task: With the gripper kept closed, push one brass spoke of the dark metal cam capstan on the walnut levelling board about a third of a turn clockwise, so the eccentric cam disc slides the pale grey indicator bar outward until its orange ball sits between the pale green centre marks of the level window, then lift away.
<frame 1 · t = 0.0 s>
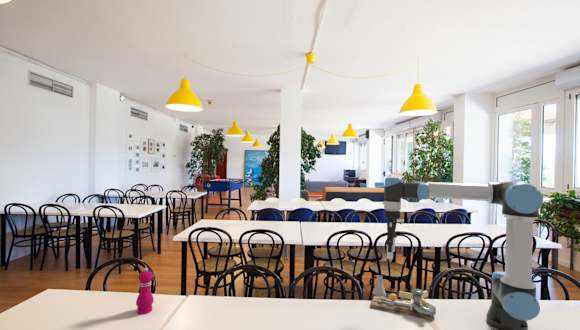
hand: (390, 254, 140), 28 cm above the table, fingers open, 13 cm apart
pepper mill: (144, 311, 137), on the table
flask: (379, 294, 161), on the table
indicator: (400, 299, 146), point 4 cm above the table, slide at 0.0 cm
cam capstan: (420, 298, 144), point 6 cm above the table, hinge at 150.0°
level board: (400, 307, 146), on the table
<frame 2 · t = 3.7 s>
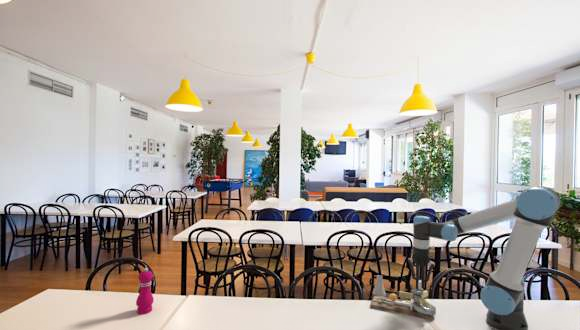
hand: (420, 294, 148), 6 cm above the table, fingers closed
cam capstan: (420, 298, 144), point 6 cm above the table, hinge at 150.0°, touching gripper
everything else where it was.
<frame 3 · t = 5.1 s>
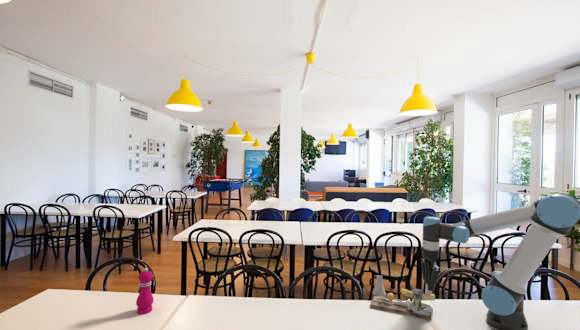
hand: (428, 296, 145), 7 cm above the table, fingers closed
indicator: (398, 299, 147), point 4 cm above the table, slide at 1.2 cm
cam capstan: (421, 299, 143), point 6 cm above the table, hinge at 117.8°, touching gripper
everything else where it was.
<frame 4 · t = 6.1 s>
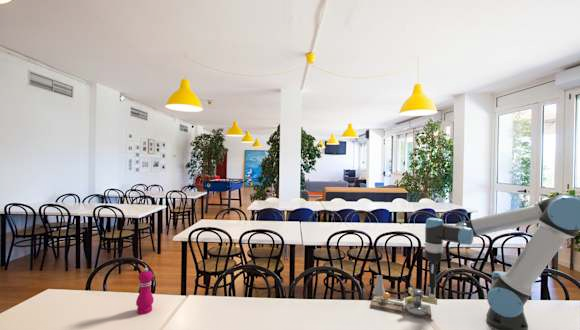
hand: (432, 299, 141), 7 cm above the table, fingers closed
indicator: (393, 298, 148), point 4 cm above the table, slide at 3.2 cm
cam capstan: (421, 300, 142), point 6 cm above the table, hinge at 84.3°, touching gripper
everything else where it was.
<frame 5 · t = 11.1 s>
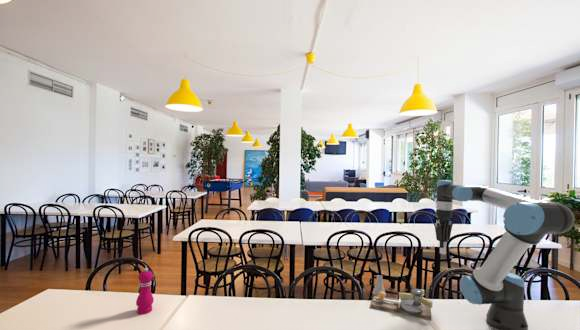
hand: (442, 253, 157), 24 cm above the table, fingers closed
indicator: (389, 297, 148), point 4 cm above the table, slide at 5.4 cm
cam capstan: (419, 301, 142), point 6 cm above the table, hinge at 42.7°
everything else where it was.
at the end: indicator slide at 5.4 cm; cam capstan at +43° (first picture: +150°) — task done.
